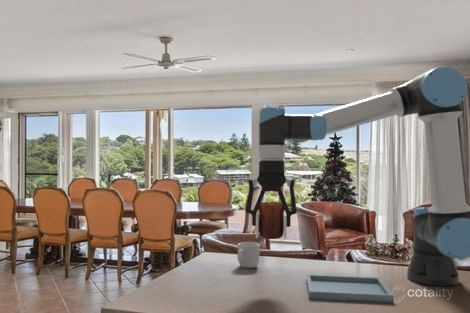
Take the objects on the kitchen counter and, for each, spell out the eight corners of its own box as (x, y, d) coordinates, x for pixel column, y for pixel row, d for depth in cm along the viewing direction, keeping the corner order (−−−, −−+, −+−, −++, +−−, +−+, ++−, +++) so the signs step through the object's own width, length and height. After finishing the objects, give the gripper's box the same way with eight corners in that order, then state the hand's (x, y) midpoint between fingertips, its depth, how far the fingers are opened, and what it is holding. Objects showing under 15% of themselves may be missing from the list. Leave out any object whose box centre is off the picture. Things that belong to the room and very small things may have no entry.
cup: (248, 272, 147) (249, 248, 147) (228, 268, 151) (228, 245, 151) (264, 266, 156) (264, 243, 156) (244, 262, 160) (245, 240, 161)
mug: (258, 234, 137) (259, 201, 137) (287, 235, 135) (287, 202, 135) (252, 241, 125) (252, 205, 125) (283, 242, 123) (283, 205, 123)
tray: (379, 284, 135) (379, 277, 135) (393, 303, 117) (393, 295, 117) (306, 280, 138) (306, 274, 138) (309, 298, 120) (309, 291, 120)
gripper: (306, 160, 133) (305, 236, 133) (238, 159, 135) (238, 234, 135) (307, 160, 125) (306, 240, 125) (236, 159, 128) (235, 238, 127)
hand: (271, 237), depth 130 cm, fingers closed on mug, 7 cm apart
